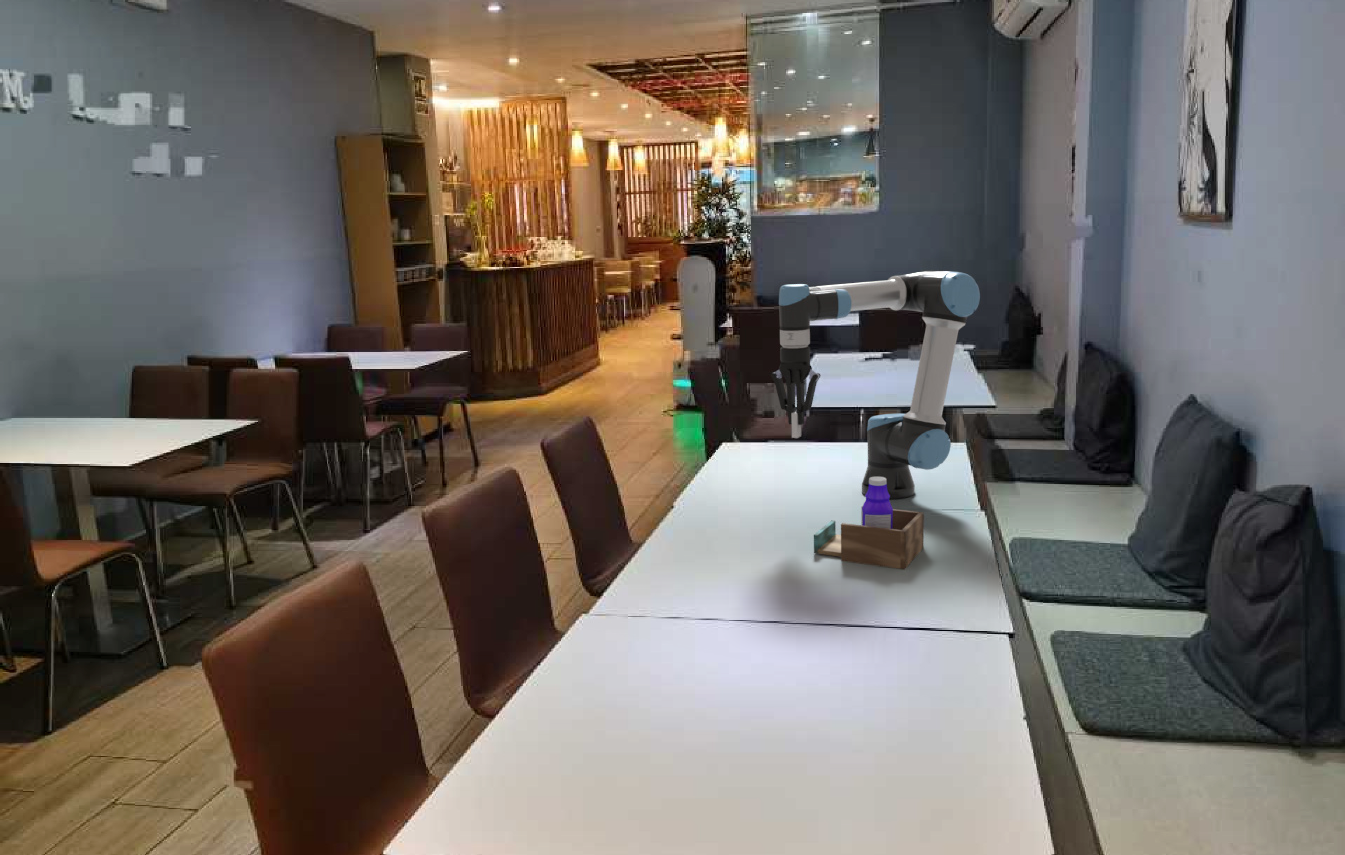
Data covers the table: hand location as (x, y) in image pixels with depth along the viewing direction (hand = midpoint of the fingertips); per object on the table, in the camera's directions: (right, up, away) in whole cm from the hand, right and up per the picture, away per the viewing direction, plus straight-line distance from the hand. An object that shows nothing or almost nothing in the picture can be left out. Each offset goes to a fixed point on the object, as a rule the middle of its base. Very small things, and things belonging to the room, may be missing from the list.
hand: (796, 436), depth 249 cm
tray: (+14, -27, -16) cm, 35 cm away
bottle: (+17, -27, -18) cm, 36 cm away
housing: (+18, -28, -18) cm, 38 cm away
